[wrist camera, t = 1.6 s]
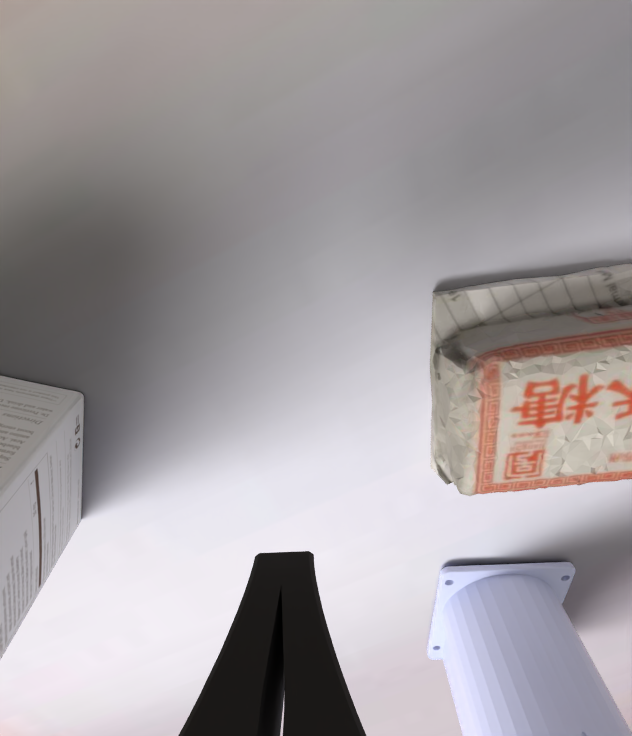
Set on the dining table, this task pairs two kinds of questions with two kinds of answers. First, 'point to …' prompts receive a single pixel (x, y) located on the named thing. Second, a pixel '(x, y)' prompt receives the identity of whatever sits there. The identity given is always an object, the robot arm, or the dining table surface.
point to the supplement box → (35, 490)
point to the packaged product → (533, 382)
